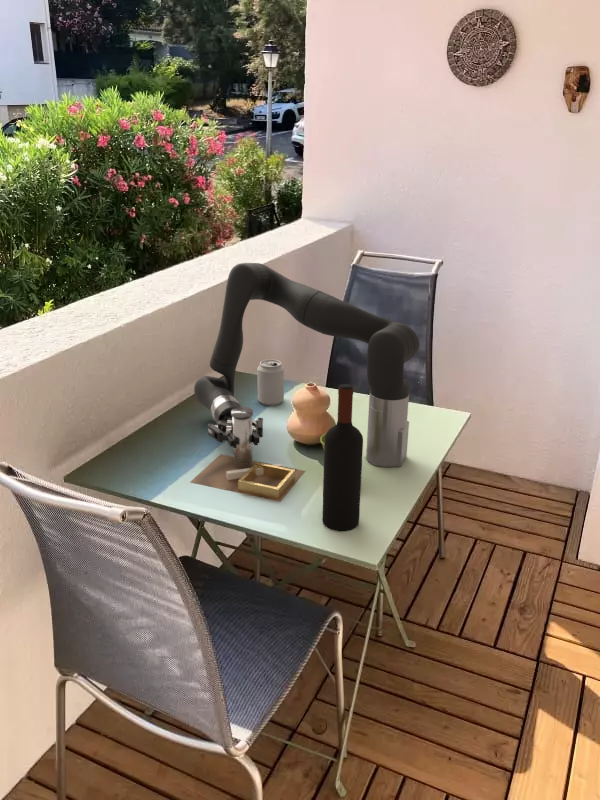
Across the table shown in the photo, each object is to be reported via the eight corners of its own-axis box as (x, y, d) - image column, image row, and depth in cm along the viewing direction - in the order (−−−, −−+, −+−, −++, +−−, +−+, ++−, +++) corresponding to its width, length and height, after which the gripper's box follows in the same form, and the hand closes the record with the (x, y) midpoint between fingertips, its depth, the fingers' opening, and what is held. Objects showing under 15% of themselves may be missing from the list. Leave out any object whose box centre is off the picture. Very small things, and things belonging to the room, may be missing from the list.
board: (305, 474, 168) (305, 470, 168) (280, 505, 155) (280, 501, 155) (220, 457, 175) (220, 454, 175) (190, 485, 163) (189, 482, 162)
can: (283, 406, 205) (283, 367, 200) (256, 406, 205) (256, 366, 200) (284, 396, 212) (284, 358, 207) (258, 396, 212) (258, 357, 207)
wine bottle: (317, 527, 148) (320, 390, 136) (329, 509, 154) (333, 377, 143) (352, 534, 145) (359, 396, 134) (363, 516, 152) (370, 382, 140)
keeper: (295, 479, 164) (295, 469, 163) (278, 499, 156) (278, 489, 155) (256, 471, 167) (256, 462, 166) (238, 490, 159) (238, 481, 158)
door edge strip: (226, 477, 164) (226, 471, 164) (281, 469, 168) (281, 463, 168) (227, 480, 163) (227, 473, 163) (282, 471, 167) (282, 465, 166)
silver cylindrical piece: (257, 462, 171) (256, 408, 166) (248, 471, 167) (247, 417, 162) (238, 458, 173) (236, 405, 168) (229, 467, 169) (227, 413, 163)
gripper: (199, 403, 176) (214, 432, 161) (256, 397, 180) (275, 424, 166) (200, 431, 179) (215, 462, 164) (256, 424, 183) (275, 453, 168)
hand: (245, 443), depth 165 cm, fingers closed on silver cylindrical piece, 4 cm apart
